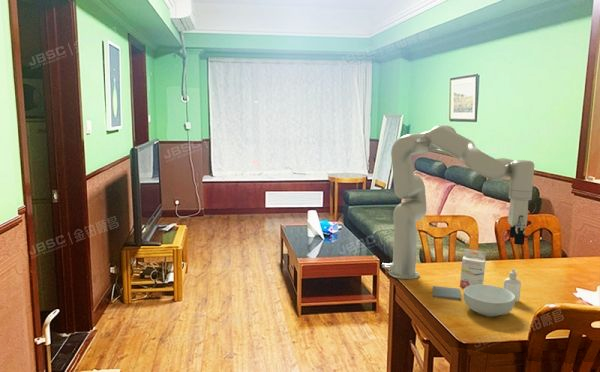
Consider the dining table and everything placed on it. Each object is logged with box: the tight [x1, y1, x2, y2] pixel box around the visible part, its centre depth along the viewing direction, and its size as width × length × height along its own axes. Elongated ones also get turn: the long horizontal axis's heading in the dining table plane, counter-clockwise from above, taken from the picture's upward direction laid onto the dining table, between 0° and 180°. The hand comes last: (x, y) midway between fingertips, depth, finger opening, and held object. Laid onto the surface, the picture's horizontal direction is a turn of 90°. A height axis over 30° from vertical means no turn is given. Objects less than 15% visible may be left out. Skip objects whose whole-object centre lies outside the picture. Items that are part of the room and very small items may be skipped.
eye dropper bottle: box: [502, 268, 522, 303], centre depth 173 cm, size 4×6×12 cm
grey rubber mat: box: [432, 285, 462, 301], centre depth 179 cm, size 10×10×1 cm
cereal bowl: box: [463, 284, 516, 318], centre depth 163 cm, size 17×17×7 cm
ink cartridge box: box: [459, 248, 486, 289], centre depth 186 cm, size 9×5×15 cm, turn 65°
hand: (516, 240), depth 170 cm, fingers open, 9 cm apart
